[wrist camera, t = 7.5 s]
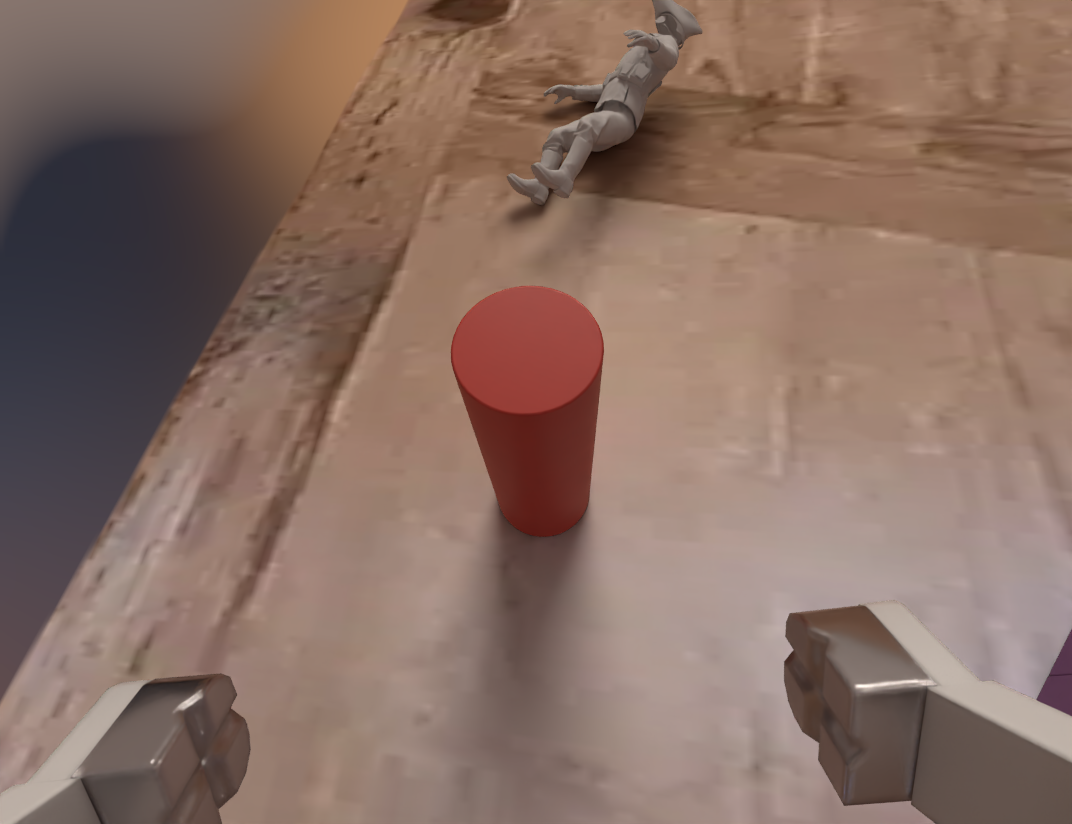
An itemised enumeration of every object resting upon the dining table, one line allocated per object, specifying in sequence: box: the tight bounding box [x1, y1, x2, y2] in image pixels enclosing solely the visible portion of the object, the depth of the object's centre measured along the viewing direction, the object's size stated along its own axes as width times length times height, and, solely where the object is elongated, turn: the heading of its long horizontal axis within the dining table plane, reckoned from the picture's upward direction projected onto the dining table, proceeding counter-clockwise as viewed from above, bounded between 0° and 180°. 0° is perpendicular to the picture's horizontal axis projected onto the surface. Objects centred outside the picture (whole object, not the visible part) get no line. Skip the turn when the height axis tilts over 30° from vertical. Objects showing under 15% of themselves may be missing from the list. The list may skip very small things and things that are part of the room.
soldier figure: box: [507, 0, 702, 205], centre depth 29 cm, size 8×5×12 cm
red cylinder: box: [451, 286, 604, 537], centre depth 18 cm, size 3×3×10 cm
